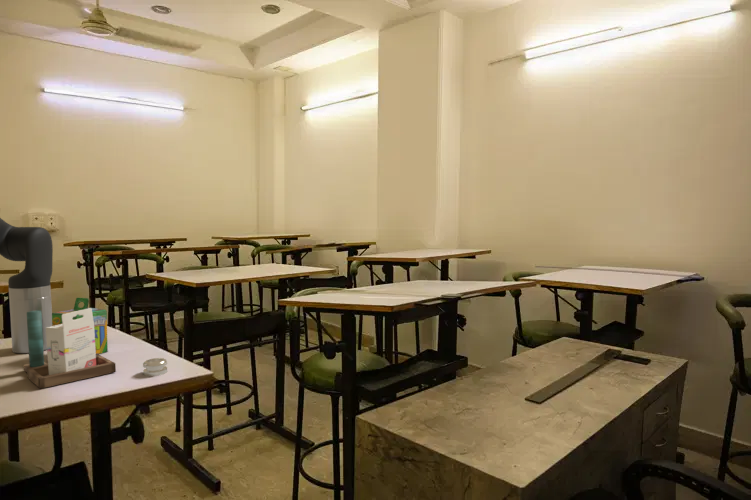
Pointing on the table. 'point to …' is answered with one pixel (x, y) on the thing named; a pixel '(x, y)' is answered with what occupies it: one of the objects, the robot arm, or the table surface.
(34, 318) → the wooden display tray
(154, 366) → the metal grooved wheel
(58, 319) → the chalk box
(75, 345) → the ink cartridge box
